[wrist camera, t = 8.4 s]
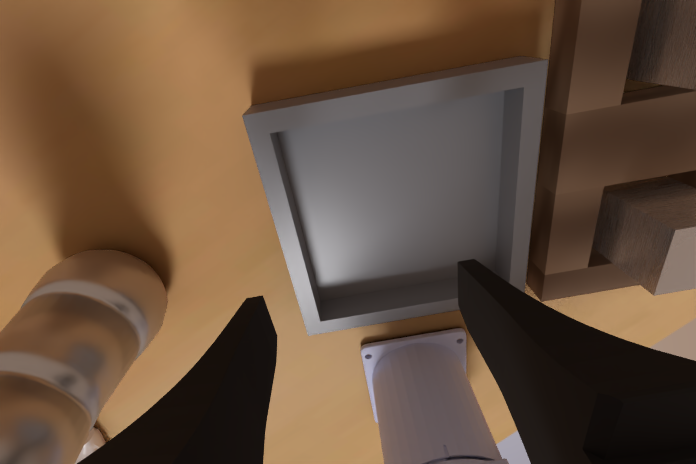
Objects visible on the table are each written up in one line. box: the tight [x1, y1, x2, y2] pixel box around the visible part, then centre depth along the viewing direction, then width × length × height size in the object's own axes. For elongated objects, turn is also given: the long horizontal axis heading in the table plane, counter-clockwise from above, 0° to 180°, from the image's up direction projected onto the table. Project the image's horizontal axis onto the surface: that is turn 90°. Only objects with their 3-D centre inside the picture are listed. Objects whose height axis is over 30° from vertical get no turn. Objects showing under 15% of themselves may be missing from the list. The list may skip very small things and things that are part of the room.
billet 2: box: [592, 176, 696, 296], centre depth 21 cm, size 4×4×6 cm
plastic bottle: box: [0, 250, 168, 464], centre depth 15 cm, size 6×7×20 cm
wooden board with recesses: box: [526, 0, 696, 302], centre depth 20 cm, size 20×11×2 cm, turn 9°
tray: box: [242, 56, 548, 336], centre depth 21 cm, size 14×14×2 cm
